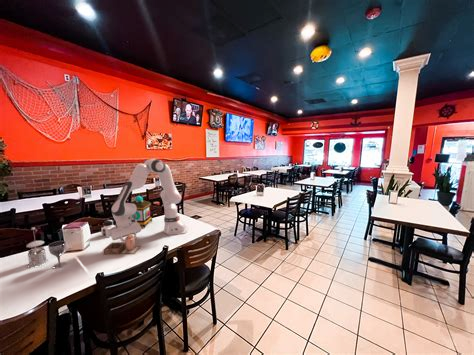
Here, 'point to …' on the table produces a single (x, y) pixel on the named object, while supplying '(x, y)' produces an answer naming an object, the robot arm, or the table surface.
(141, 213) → the decorative lantern
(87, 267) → the table surface
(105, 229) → the container
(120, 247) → the caddy
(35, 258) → the french press
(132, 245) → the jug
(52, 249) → the wine glass
